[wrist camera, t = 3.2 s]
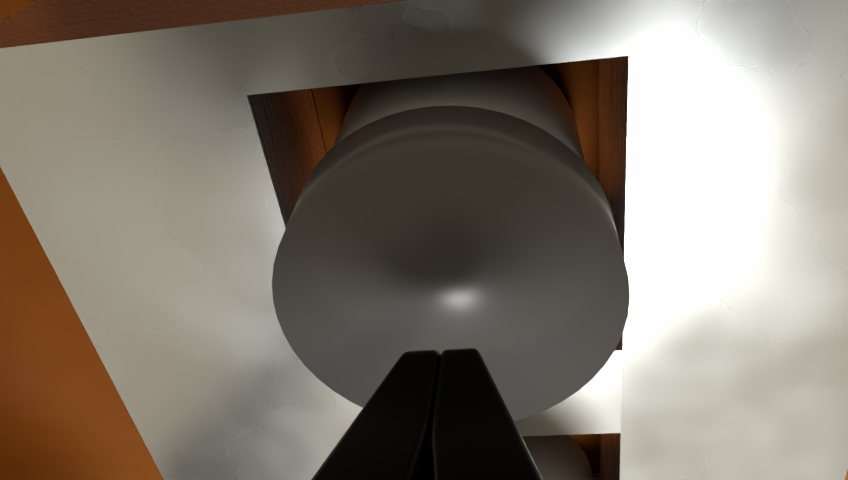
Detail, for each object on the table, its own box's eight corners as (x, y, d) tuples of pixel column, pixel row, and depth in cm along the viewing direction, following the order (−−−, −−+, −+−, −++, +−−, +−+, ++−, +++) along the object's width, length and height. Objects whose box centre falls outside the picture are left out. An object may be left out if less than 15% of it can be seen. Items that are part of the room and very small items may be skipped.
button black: (591, 252, 14) (626, 422, 10) (356, 268, 14) (315, 434, 11) (589, 12, 11) (634, 132, 8) (303, 44, 12) (228, 167, 8)
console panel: (734, 639, 22) (765, 752, 20) (320, 638, 24) (300, 741, 21) (881, -115, 10) (1003, -70, 8) (52, -9, 12) (-58, 55, 10)
